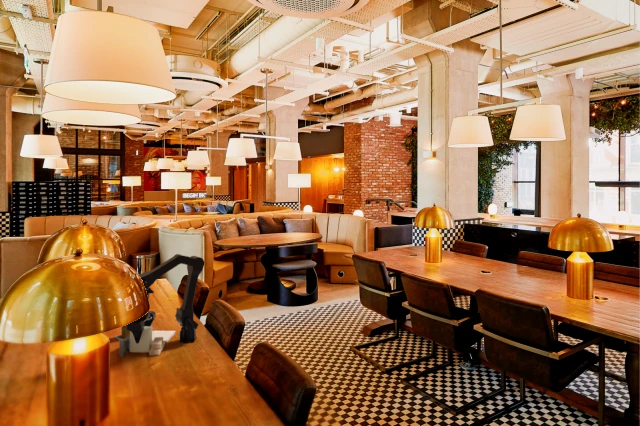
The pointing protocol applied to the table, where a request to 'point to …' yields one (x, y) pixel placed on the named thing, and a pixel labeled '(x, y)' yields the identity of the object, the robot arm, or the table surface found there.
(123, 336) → the condiment
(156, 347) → the offcut stack
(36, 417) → the table surface
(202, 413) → the table surface
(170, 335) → the mat
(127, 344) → the rack
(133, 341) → the grey upright block
